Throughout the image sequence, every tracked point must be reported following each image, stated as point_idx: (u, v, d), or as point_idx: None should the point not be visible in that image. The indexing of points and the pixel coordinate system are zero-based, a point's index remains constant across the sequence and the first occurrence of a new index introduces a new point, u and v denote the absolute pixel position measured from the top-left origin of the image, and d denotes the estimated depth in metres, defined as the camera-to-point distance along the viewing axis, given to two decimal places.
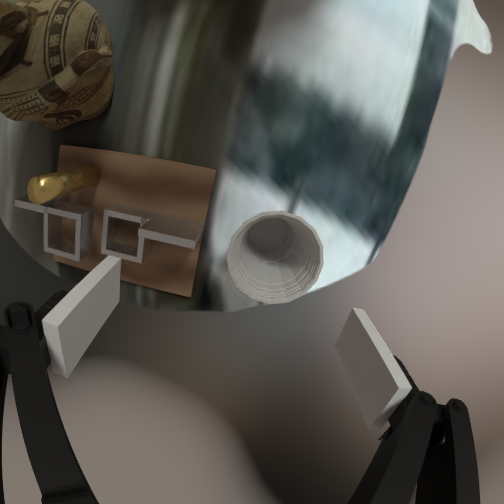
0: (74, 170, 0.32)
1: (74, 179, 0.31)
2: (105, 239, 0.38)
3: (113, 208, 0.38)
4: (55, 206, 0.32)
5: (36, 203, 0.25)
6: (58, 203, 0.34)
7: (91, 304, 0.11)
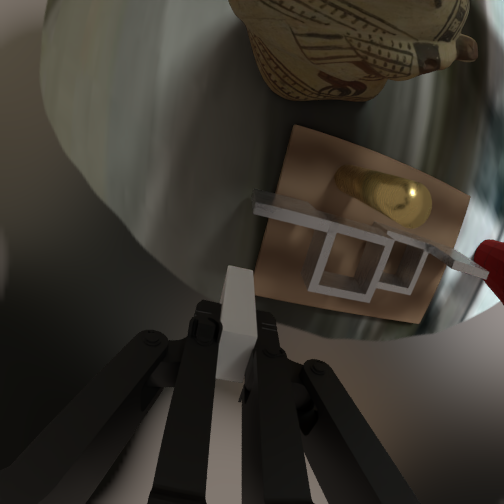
0: None
1: None
2: None
3: (389, 229, 0.30)
4: (343, 222, 0.25)
5: (408, 226, 0.17)
6: (332, 216, 0.26)
7: None
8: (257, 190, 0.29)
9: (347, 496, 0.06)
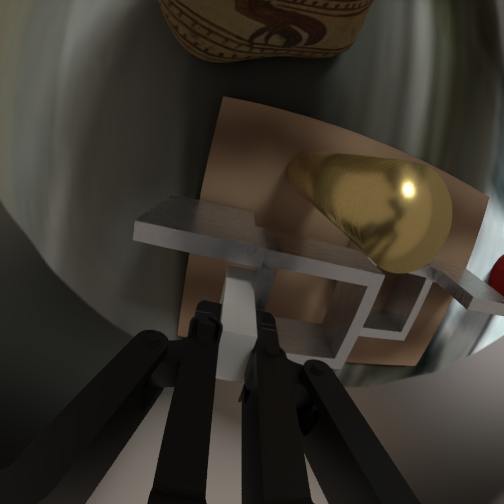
0: None
1: None
2: None
3: None
4: (293, 249, 0.15)
5: (397, 268, 0.08)
6: (279, 237, 0.16)
7: None
8: (173, 197, 0.19)
9: (347, 496, 0.06)
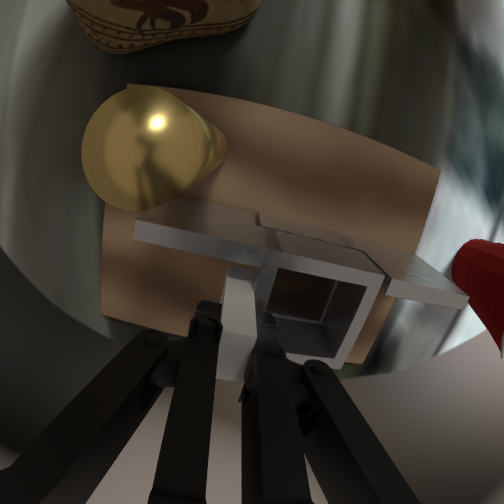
0: None
1: (219, 141, 0.12)
2: None
3: (273, 223, 0.19)
4: (293, 248, 0.15)
5: (129, 205, 0.07)
6: (279, 237, 0.16)
7: None
8: (174, 197, 0.19)
9: (347, 496, 0.06)
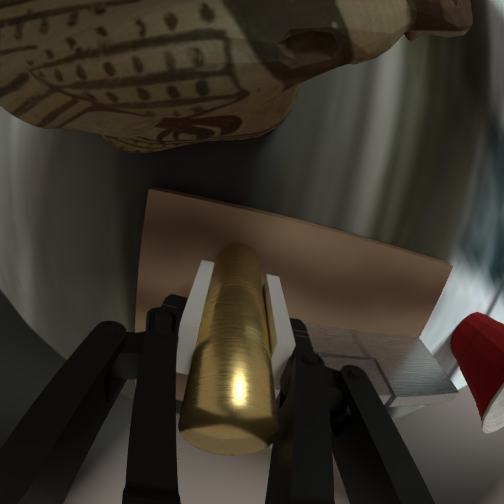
0: (252, 290, 0.15)
1: None
2: None
3: None
4: None
5: (224, 453, 0.08)
6: None
7: (204, 305, 0.14)
8: None
9: (369, 496, 0.06)
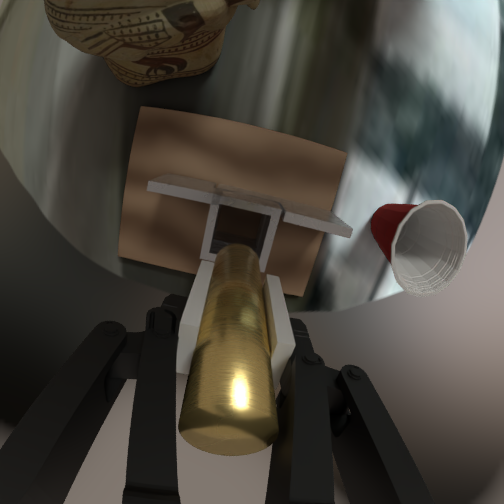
0: (251, 290, 0.15)
1: None
2: None
3: (225, 187, 0.32)
4: (229, 195, 0.28)
5: (224, 453, 0.08)
6: (224, 192, 0.29)
7: (204, 305, 0.14)
8: (169, 174, 0.32)
9: (369, 496, 0.06)
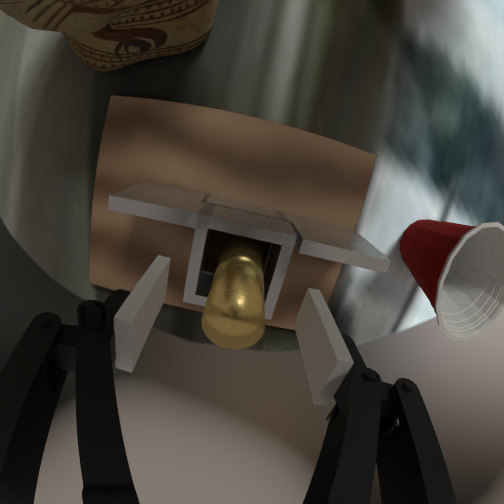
0: (254, 248, 0.21)
1: None
2: None
3: (218, 201, 0.24)
4: (221, 215, 0.19)
5: (228, 346, 0.15)
6: (215, 209, 0.21)
7: (151, 301, 0.13)
8: (144, 183, 0.24)
9: (401, 501, 0.06)
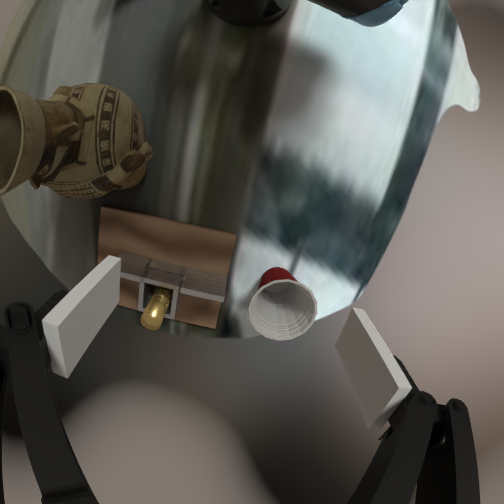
0: (166, 289, 0.47)
1: (169, 299, 0.46)
2: None
3: (154, 264, 0.50)
4: (150, 276, 0.46)
5: (150, 329, 0.41)
6: (149, 271, 0.47)
7: (91, 304, 0.11)
8: (122, 254, 0.50)
9: None
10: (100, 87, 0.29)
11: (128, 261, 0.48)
